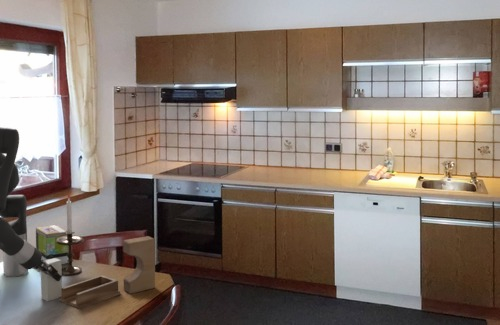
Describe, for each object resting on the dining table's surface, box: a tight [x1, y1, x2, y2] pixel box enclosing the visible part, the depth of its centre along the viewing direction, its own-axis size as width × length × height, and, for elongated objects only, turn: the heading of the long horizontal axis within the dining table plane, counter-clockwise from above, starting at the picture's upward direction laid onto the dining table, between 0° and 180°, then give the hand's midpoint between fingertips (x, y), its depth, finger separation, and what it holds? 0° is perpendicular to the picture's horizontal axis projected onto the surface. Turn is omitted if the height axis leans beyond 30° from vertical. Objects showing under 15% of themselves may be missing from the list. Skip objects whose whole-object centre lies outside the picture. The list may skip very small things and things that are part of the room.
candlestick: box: [56, 190, 84, 277], centre depth 222 cm, size 11×11×35 cm
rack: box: [59, 274, 121, 310], centre depth 198 cm, size 12×18×5 cm, turn 144°
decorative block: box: [122, 235, 156, 295], centre depth 206 cm, size 11×6×20 cm, turn 127°
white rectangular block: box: [40, 258, 63, 302], centre depth 196 cm, size 4×6×14 cm, turn 144°
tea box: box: [35, 224, 69, 265], centre depth 238 cm, size 15×10×15 cm, turn 39°
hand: (55, 277), depth 198 cm, fingers closed on white rectangular block, 4 cm apart
